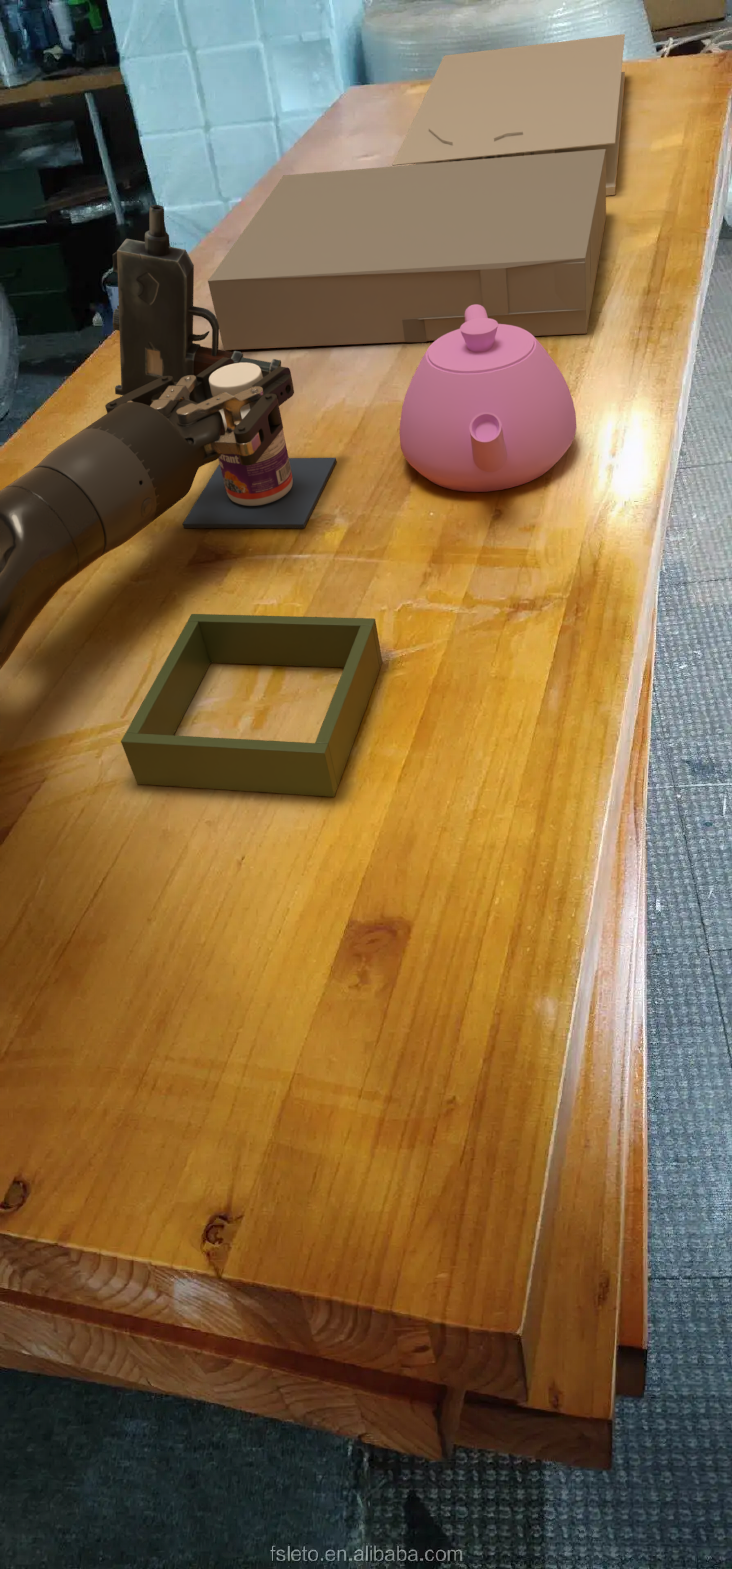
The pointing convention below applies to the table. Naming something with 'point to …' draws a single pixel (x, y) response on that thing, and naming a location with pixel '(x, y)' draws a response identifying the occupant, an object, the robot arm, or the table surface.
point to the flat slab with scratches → (522, 104)
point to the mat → (281, 513)
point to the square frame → (245, 760)
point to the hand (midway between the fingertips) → (259, 374)
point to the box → (416, 252)
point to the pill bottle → (273, 467)
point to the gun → (162, 313)
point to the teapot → (486, 408)
